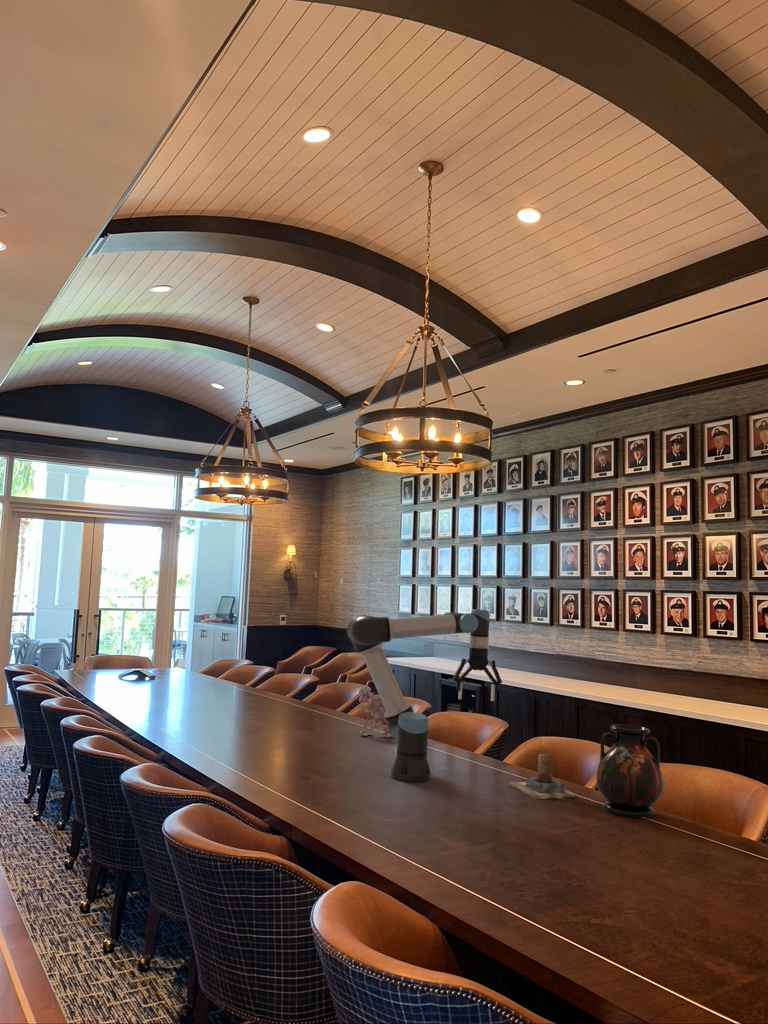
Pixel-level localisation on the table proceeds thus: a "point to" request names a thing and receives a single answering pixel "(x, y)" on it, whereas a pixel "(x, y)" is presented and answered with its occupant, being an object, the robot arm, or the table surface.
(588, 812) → the table surface
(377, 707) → the flower
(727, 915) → the table surface
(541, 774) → the walnut peg
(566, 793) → the maple board
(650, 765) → the amphora vase
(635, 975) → the table surface
